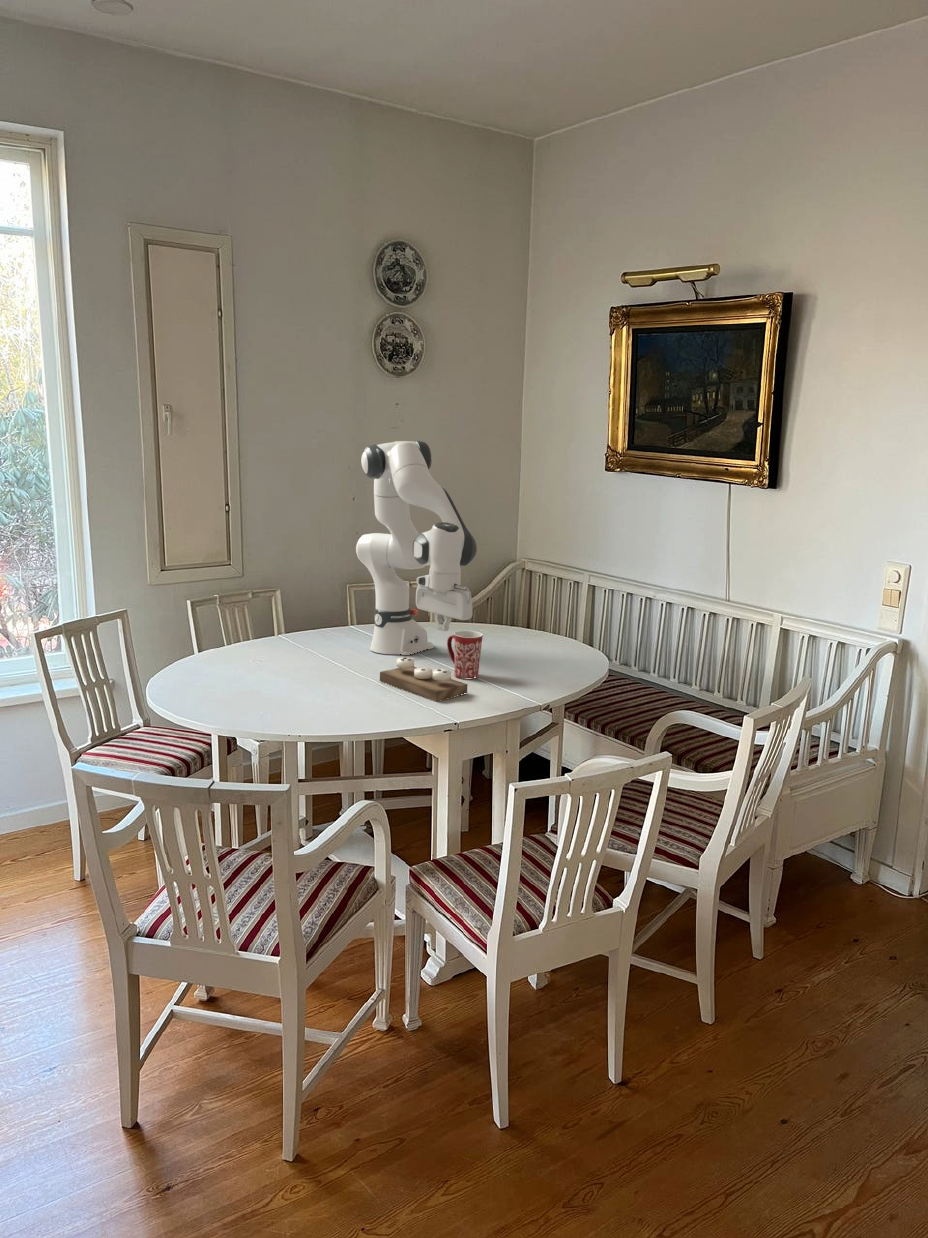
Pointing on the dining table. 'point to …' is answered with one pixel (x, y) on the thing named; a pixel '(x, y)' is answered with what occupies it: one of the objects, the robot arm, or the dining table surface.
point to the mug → (465, 653)
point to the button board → (422, 684)
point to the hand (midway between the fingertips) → (442, 630)
